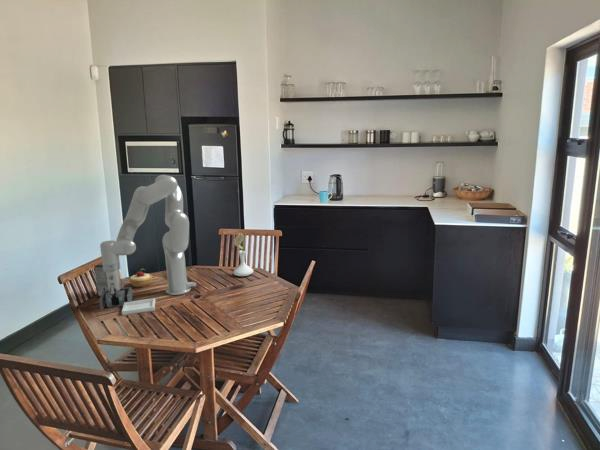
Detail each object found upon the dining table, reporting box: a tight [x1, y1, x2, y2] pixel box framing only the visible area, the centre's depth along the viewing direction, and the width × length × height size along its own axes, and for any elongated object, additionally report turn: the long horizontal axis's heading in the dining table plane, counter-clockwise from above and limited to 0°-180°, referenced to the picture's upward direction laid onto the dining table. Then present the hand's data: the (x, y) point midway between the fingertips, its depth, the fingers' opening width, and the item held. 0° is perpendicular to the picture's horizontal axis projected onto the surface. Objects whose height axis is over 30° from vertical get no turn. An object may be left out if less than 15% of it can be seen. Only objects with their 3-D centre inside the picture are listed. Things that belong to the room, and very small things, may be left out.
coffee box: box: [93, 262, 108, 297], centre depth 232 cm, size 9×6×16 cm
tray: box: [121, 297, 156, 317], centre depth 209 cm, size 14×12×2 cm
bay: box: [98, 286, 134, 310], centre depth 218 cm, size 13×14×5 cm
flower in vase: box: [232, 232, 254, 277], centre depth 250 cm, size 13×11×25 cm
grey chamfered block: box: [106, 290, 127, 308], centre depth 216 cm, size 8×5×6 cm, turn 106°
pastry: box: [129, 268, 154, 288], centre depth 243 cm, size 12×12×9 cm
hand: (116, 302), depth 216 cm, fingers closed on grey chamfered block, 5 cm apart
